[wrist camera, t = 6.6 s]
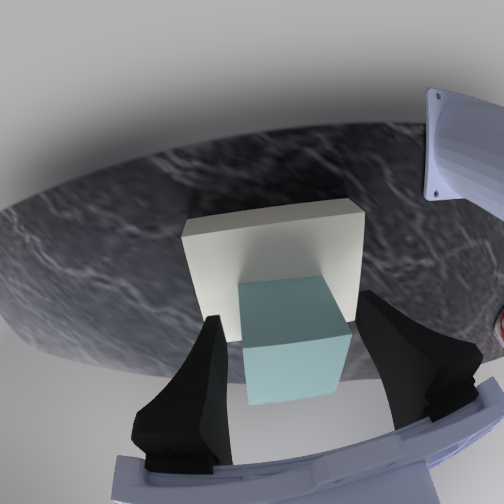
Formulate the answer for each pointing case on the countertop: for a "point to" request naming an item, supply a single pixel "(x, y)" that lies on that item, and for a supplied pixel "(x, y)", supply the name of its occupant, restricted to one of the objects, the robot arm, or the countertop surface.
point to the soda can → (500, 328)
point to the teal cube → (291, 339)
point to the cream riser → (274, 253)
